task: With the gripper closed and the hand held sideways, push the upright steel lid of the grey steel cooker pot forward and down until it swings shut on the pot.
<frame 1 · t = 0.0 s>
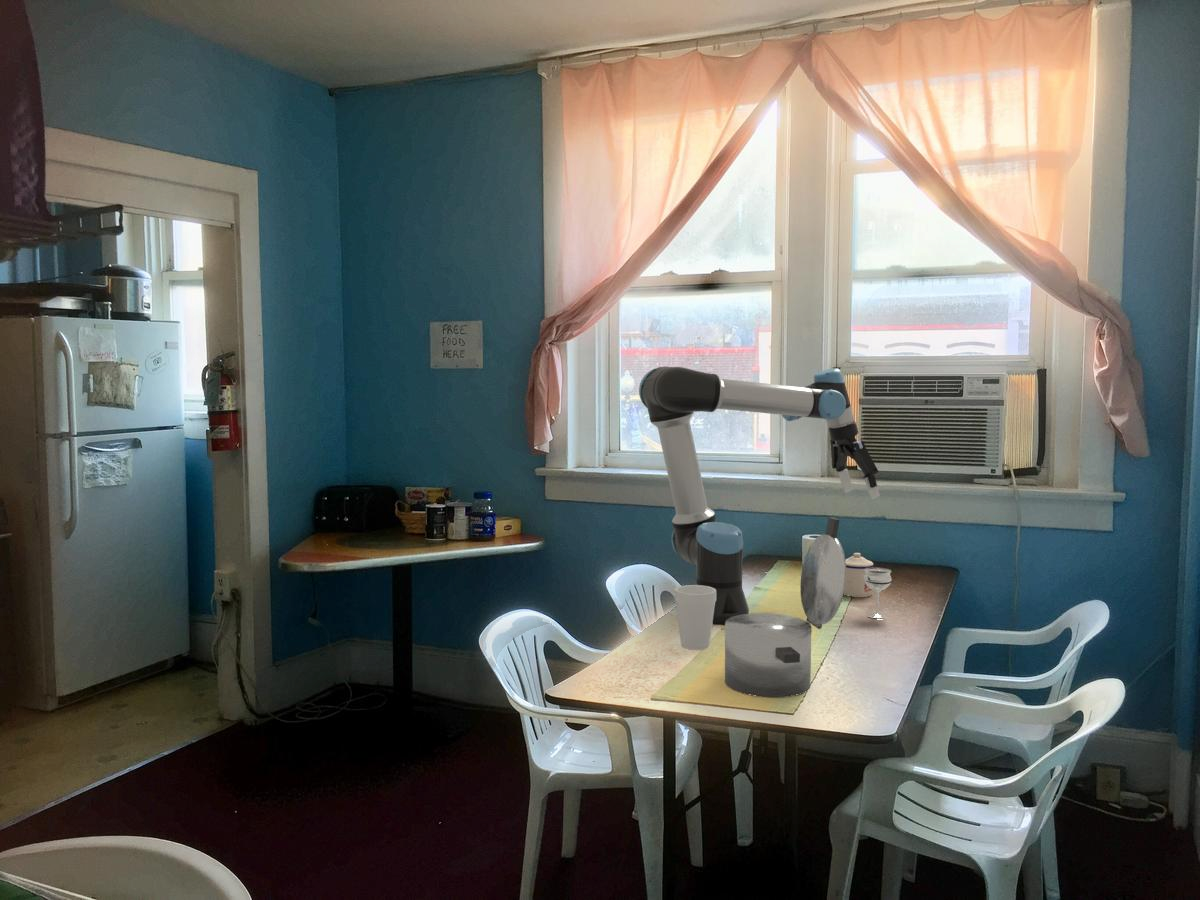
hand: (861, 494, 261), 28 cm above the table, tool tilted 20°, fingers open, 13 cm apart
wineglass: (876, 617, 237), on the table
foam cup: (695, 646, 212), on the table
cooker pot: (767, 682, 187), on the table
teacup with lid: (856, 593, 262), on the table
cooker lid: (823, 572, 187), point 22 cm above the table, hinge at 100.0°
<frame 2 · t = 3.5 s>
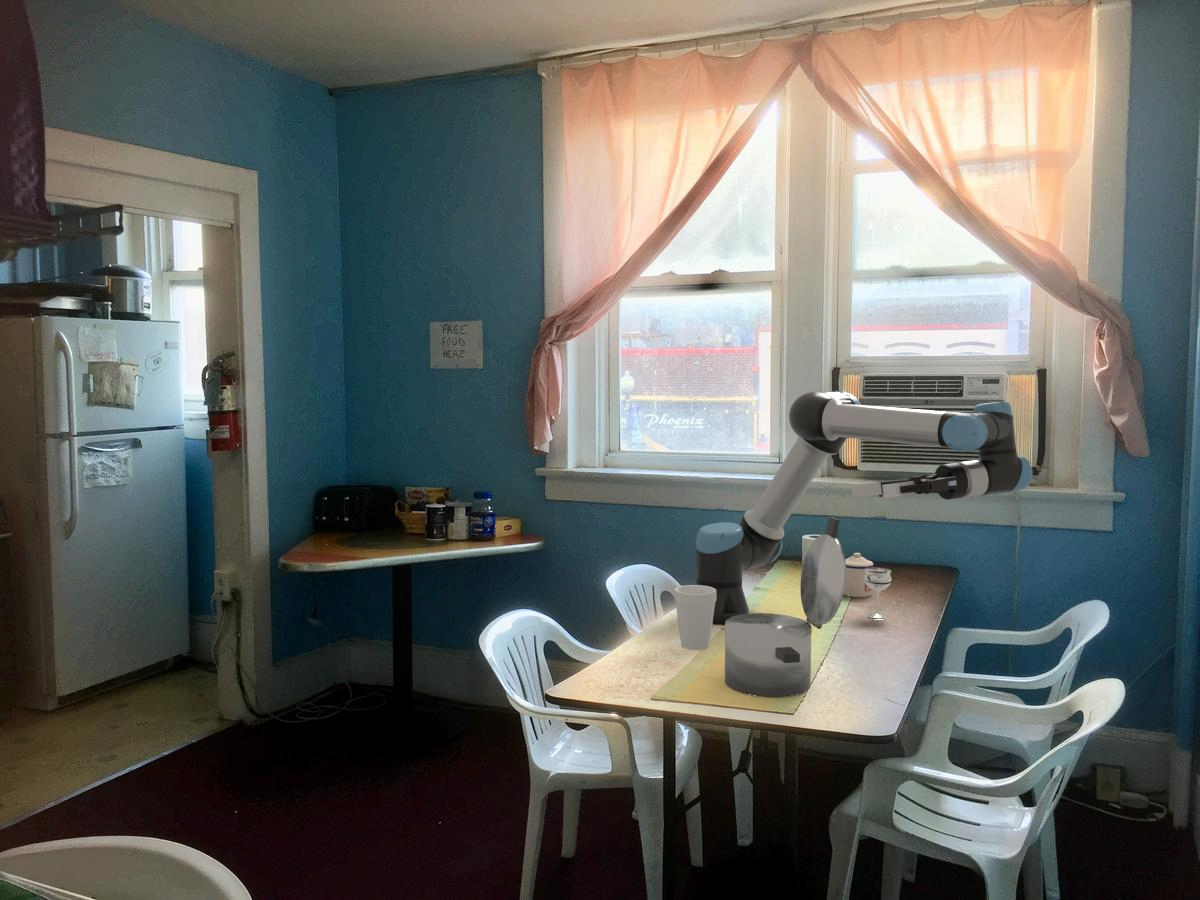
hand: (867, 491, 192), 38 cm above the table, tool horizontal, fingers open, 13 cm apart
nothing on the table moved.
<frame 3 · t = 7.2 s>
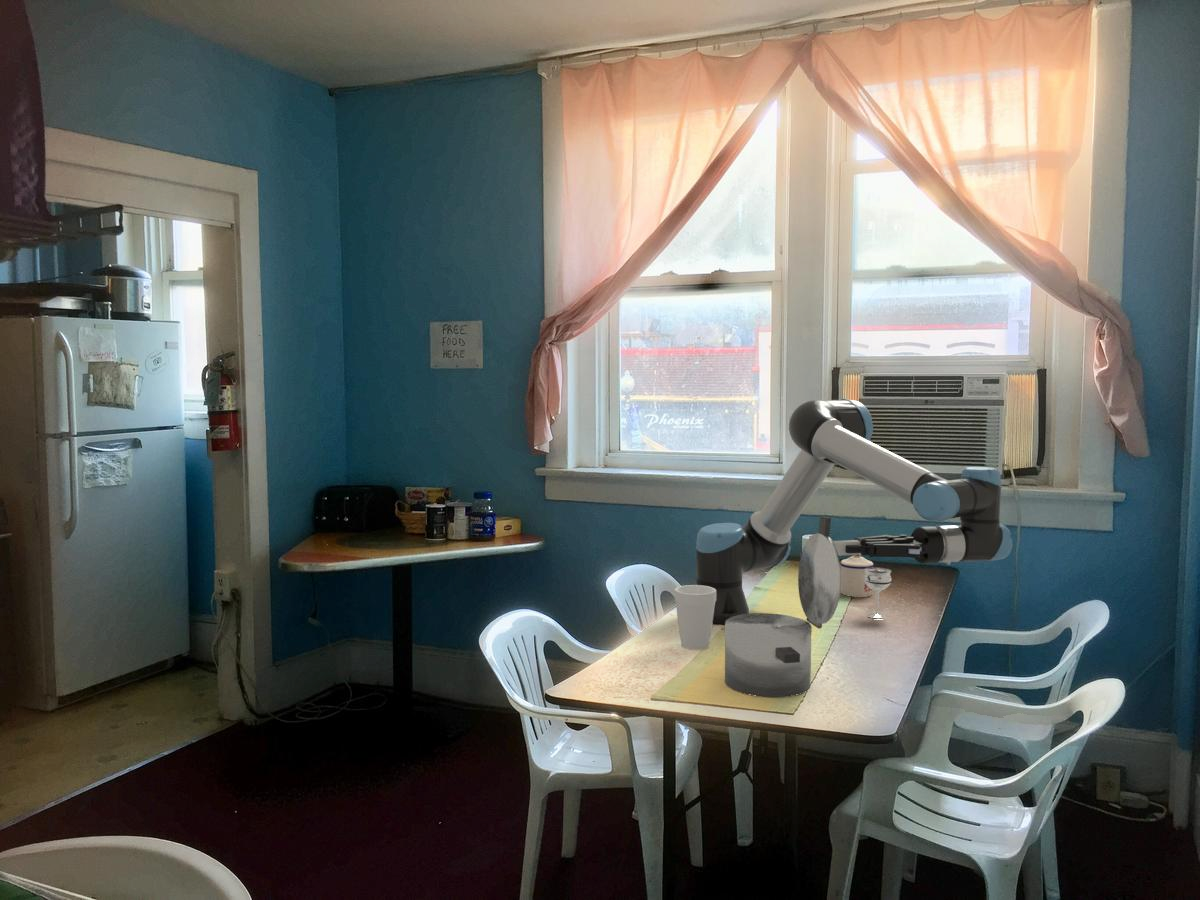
hand: (828, 548, 186), 27 cm above the table, tool horizontal, fingers closed
cooker lid: (819, 571, 187), point 22 cm above the table, hinge at 95.0°
everything else where it was.
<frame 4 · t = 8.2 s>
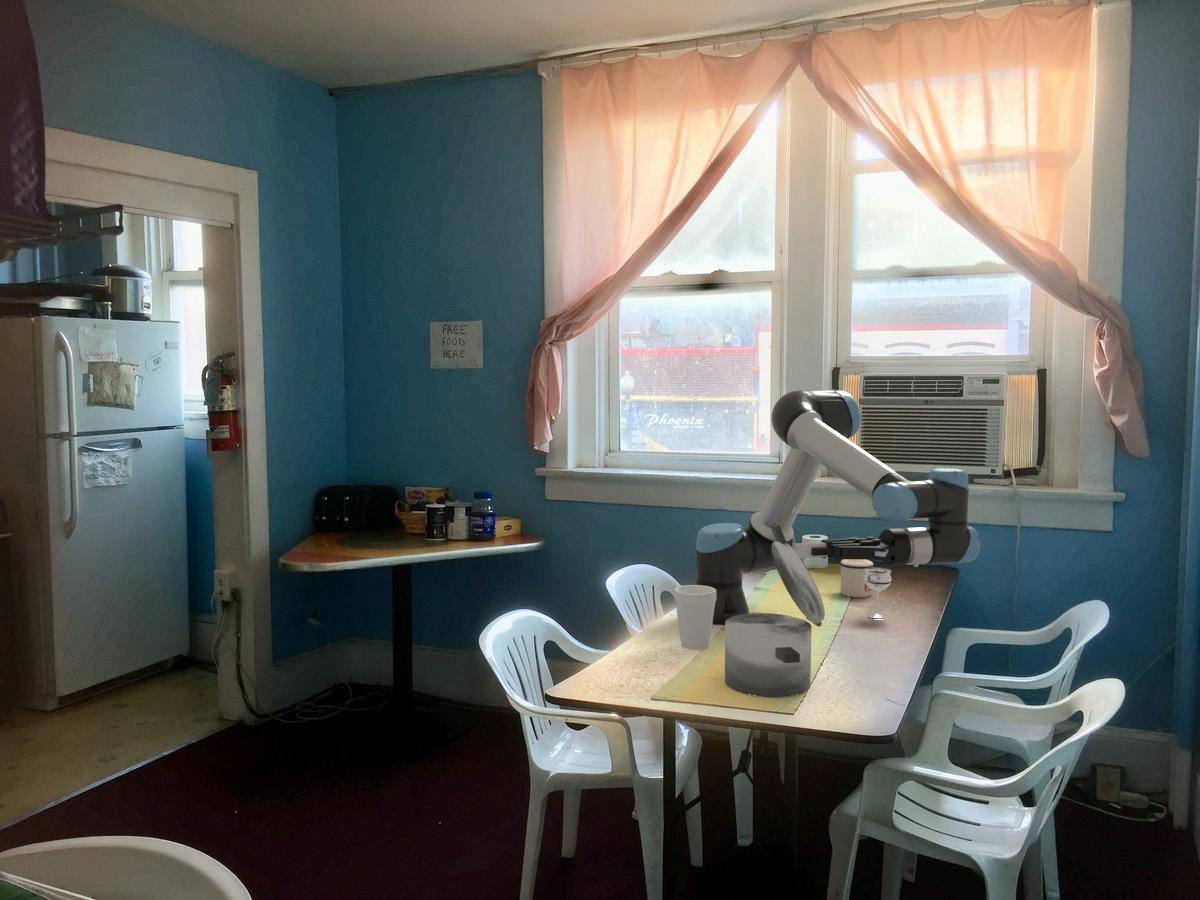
hand: (794, 550, 184), 27 cm above the table, tool horizontal, fingers closed
cooker lid: (794, 574, 186), point 22 cm above the table, hinge at 65.9°, touching gripper
everything else where it was.
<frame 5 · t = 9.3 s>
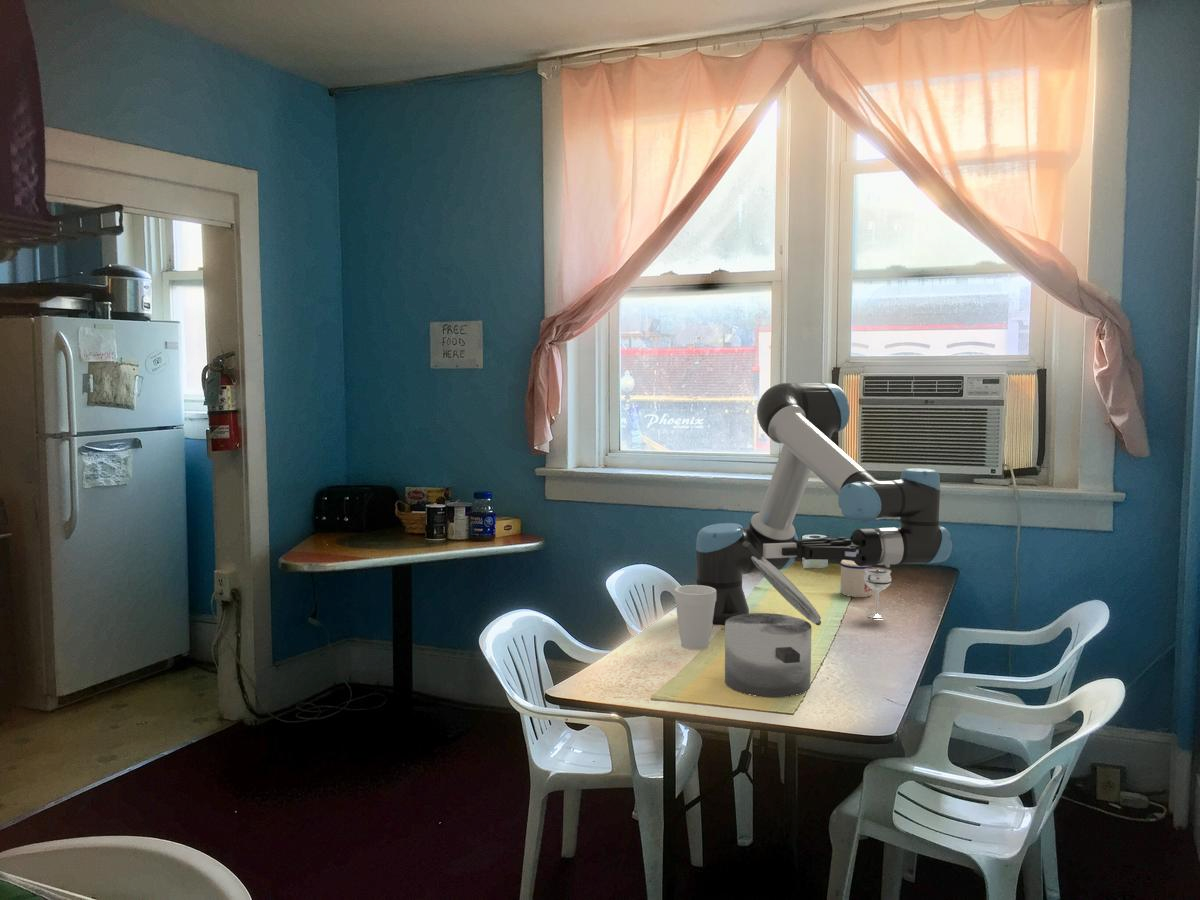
hand: (764, 551, 184), 27 cm above the table, tool horizontal, fingers closed
cooker lid: (780, 583, 185), point 20 cm above the table, hinge at 47.7°
everything else where it was.
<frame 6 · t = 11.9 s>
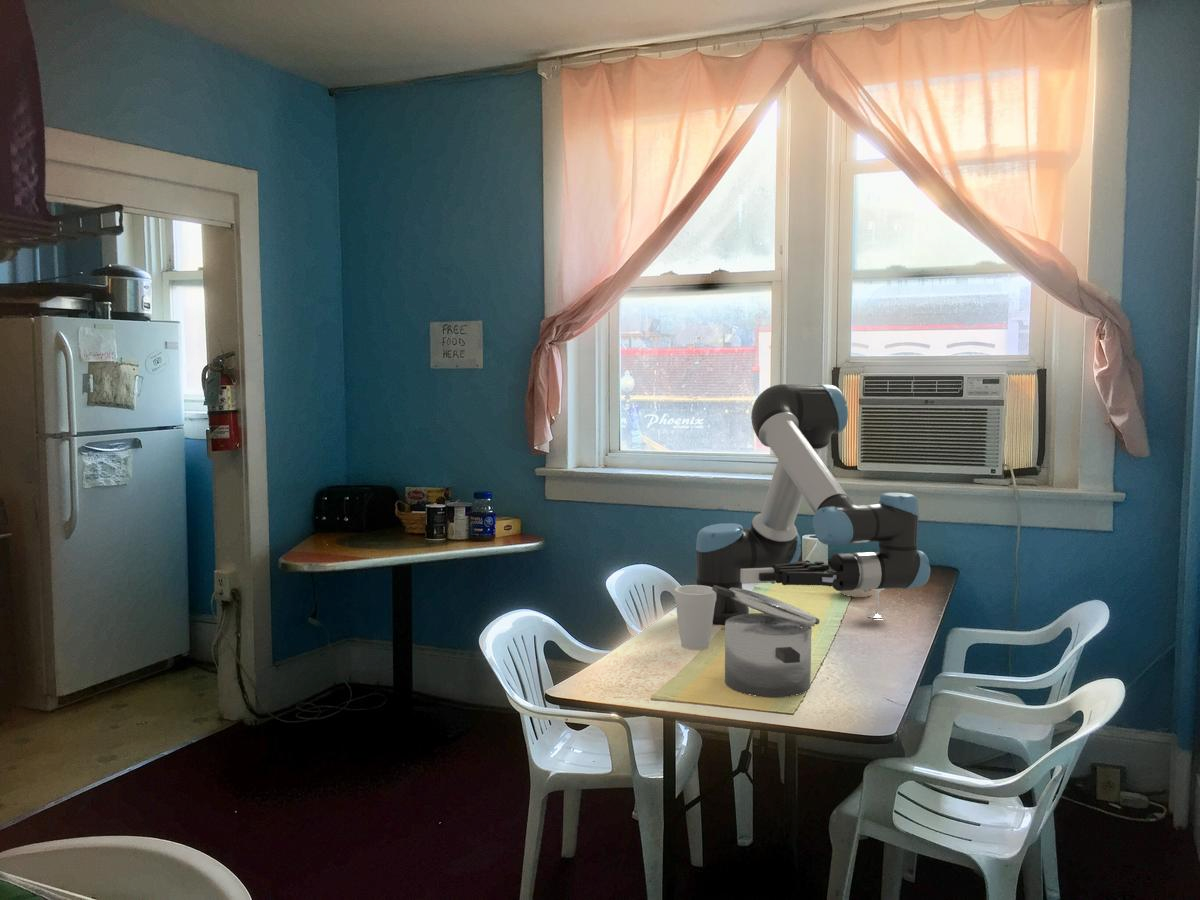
hand: (741, 576, 184), 22 cm above the table, tool horizontal, fingers closed
cooker lid: (765, 604, 185), point 16 cm above the table, hinge at 18.5°
everything else where it was.
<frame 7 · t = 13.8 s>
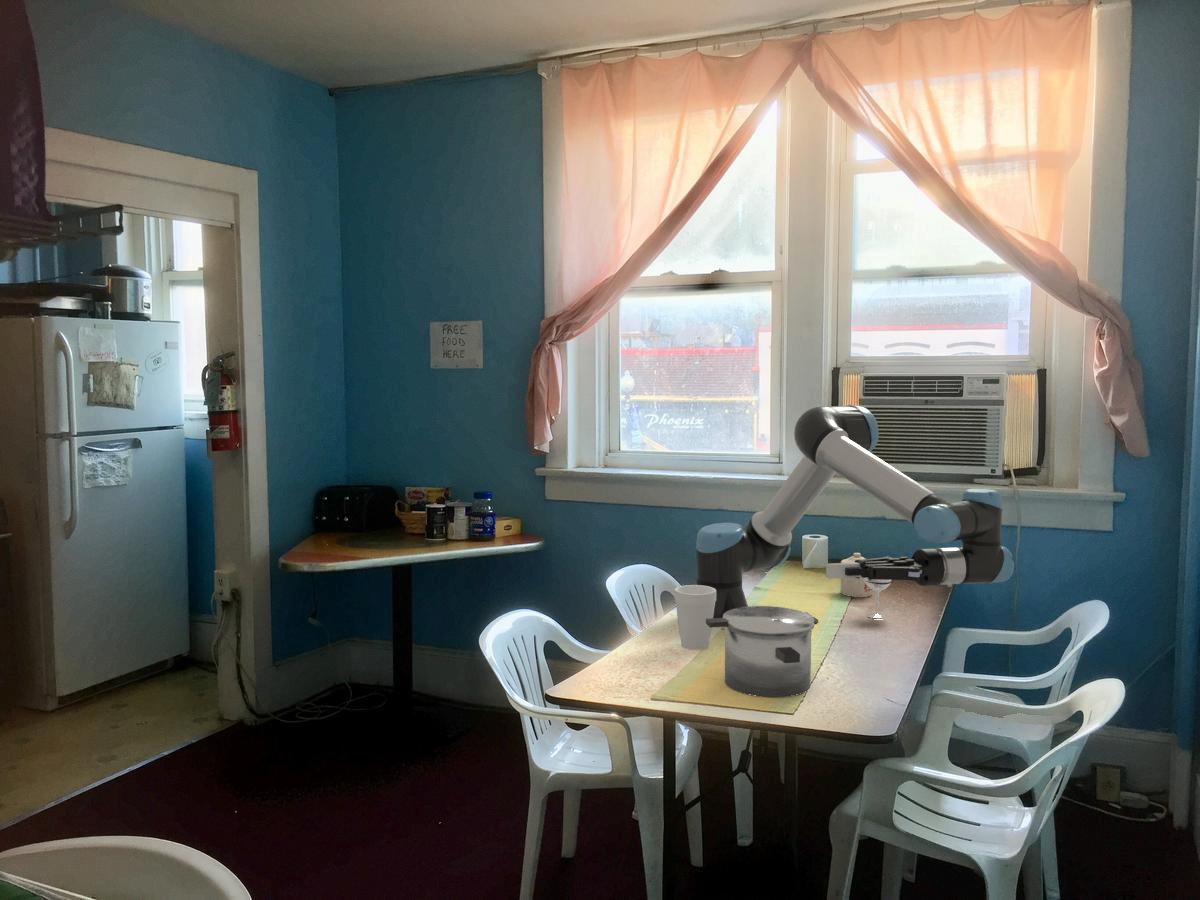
hand: (827, 571, 186), 22 cm above the table, tool horizontal, fingers closed
cooker lid: (761, 620, 185), point 13 cm above the table, hinge at -0.1°
everything else where it was.
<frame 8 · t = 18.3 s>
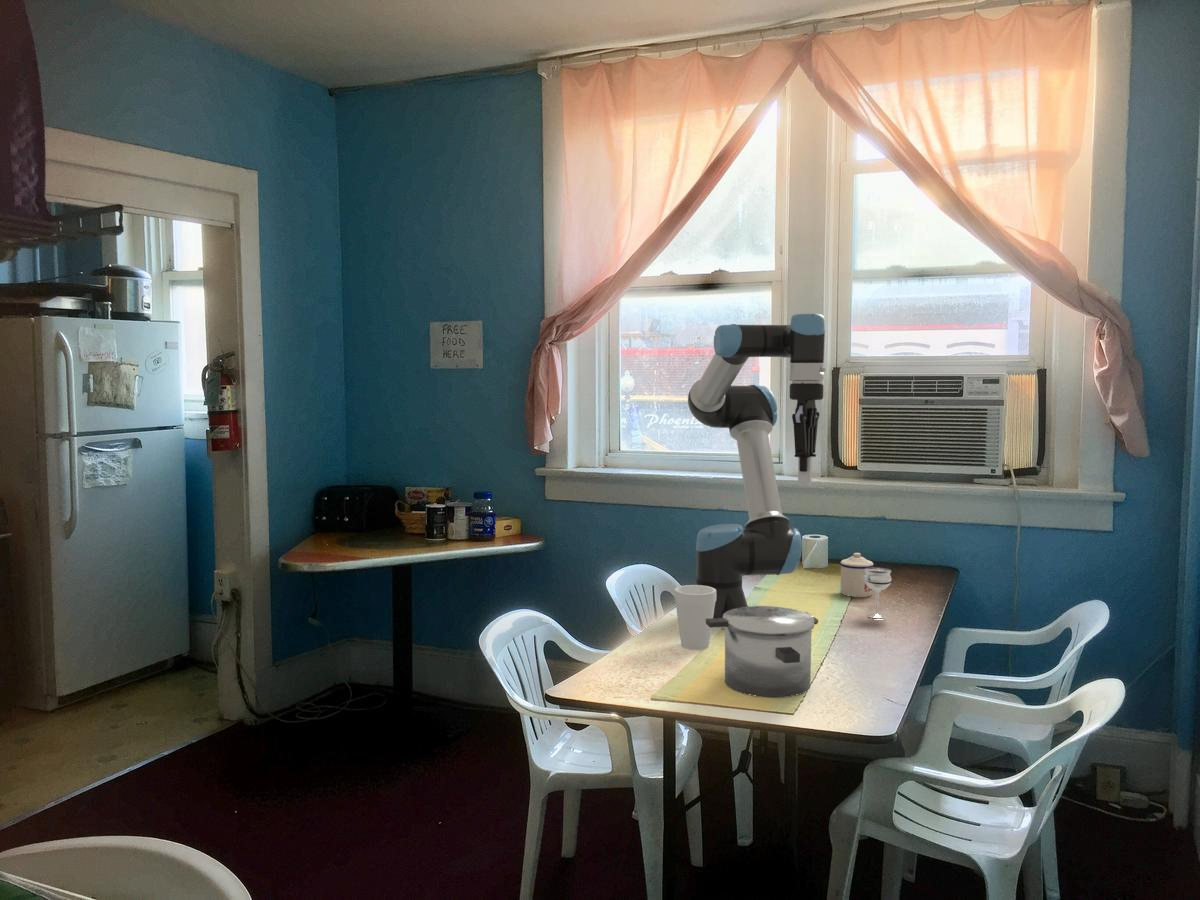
hand: (804, 485, 213), 36 cm above the table, tool pointing down, fingers closed
nothing on the table moved.
at the end: cooker lid at +0° (first picture: +100°) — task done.
